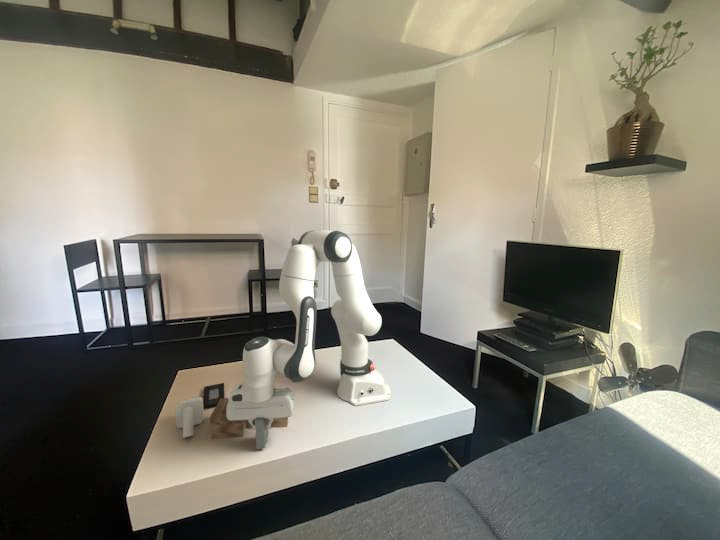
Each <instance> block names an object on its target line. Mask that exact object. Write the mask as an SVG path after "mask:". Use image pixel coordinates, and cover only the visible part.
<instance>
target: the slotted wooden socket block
mask: <svg viewBox="0 0 720 540" xmlns="http://www.w3.org/2000/svg"><path fill="white" fill-rule="evenodd" d="M228 402H229V400H228V397H224V398H221V399H220V401H219V402H218V404H217V406H216V407H214V410H213V411H212V412H211V414H210V416H209V421H210V422H209V423H210V434H211V436H210V437H211V439H224V438H225V439H226V438H227V439H228V438H242V437H244V435H245V433H246V430H249V429H253V426H252V425H251V424H250V423H249V422H248V420H232V421H230V420H228V419H227V417H226V408H227V404H228ZM254 420H255V419H254ZM268 421H269V418H268ZM288 424H289V417H284V418H274V419H273V422H272V423H271V428H287V427H288Z"/></svg>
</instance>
